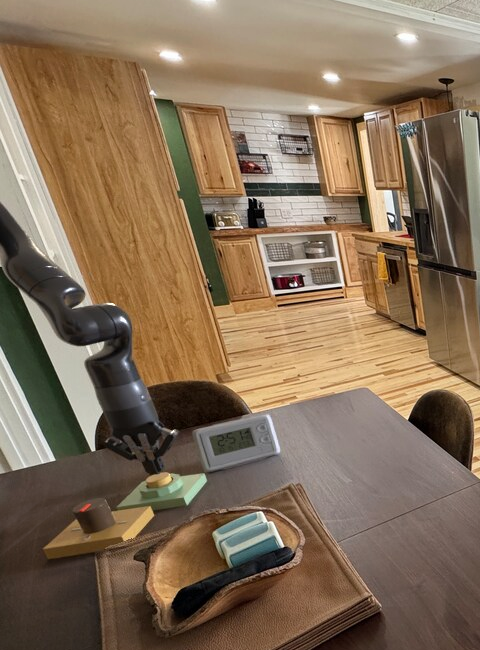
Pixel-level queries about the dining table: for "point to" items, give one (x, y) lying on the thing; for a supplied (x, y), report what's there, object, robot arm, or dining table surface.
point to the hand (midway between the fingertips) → (156, 472)
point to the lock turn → (94, 515)
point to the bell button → (158, 480)
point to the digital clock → (236, 442)
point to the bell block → (165, 493)
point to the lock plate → (99, 534)
